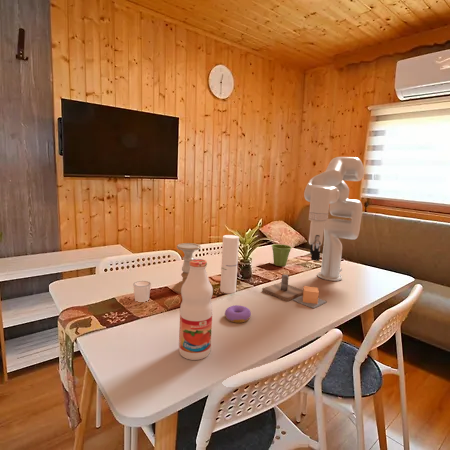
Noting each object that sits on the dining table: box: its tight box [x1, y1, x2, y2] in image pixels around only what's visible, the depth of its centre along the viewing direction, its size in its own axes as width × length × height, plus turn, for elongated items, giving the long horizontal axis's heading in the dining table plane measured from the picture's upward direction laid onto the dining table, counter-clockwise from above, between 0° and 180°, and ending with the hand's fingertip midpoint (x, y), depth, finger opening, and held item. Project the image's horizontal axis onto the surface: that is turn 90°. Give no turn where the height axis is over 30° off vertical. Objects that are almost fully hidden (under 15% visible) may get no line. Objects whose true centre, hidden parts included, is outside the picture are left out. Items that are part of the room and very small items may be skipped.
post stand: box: [261, 273, 303, 302], centre depth 145 cm, size 14×14×8 cm
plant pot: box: [271, 243, 293, 267], centre depth 189 cm, size 12×12×11 cm
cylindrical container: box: [219, 234, 240, 294], centre depth 143 cm, size 7×7×25 cm
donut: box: [224, 304, 252, 324], centre depth 118 cm, size 10×9×5 cm
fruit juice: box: [178, 258, 214, 361], centre depth 93 cm, size 9×9×28 cm
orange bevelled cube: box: [302, 285, 320, 304], centre depth 136 cm, size 6×6×5 cm
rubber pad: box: [292, 295, 327, 309], centre depth 137 cm, size 10×10×1 cm
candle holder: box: [173, 242, 201, 294], centre depth 142 cm, size 12×12×20 cm
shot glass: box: [132, 280, 152, 303], centre depth 129 cm, size 7×7×7 cm
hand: (314, 257), depth 134 cm, fingers open, 9 cm apart
